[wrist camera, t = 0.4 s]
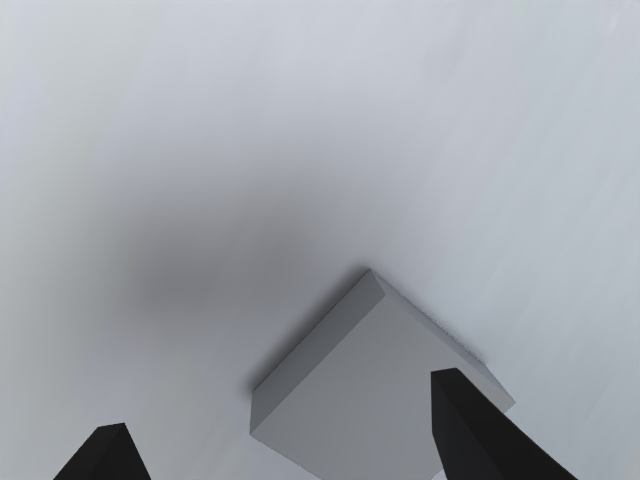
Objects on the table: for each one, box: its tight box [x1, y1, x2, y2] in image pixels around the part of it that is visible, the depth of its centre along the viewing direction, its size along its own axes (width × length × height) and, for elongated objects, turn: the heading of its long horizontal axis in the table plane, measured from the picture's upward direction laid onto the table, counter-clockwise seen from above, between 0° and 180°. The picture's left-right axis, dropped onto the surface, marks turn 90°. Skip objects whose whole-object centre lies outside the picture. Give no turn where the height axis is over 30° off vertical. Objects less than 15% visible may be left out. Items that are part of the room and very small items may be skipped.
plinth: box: [250, 269, 516, 480], centre depth 21 cm, size 9×9×3 cm
